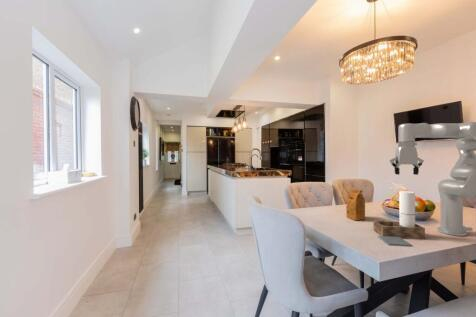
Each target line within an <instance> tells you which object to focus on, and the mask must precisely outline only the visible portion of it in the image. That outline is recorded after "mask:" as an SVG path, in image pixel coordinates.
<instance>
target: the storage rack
mask: <svg viewBox="0 0 476 317" xmlns="http://www.w3.org/2000/svg"><path fill="white" fill-rule="evenodd" d="M372 222H373V223H372V227H373V228H372V229H373V231H374V232H375V233H376V234H378V236H392V237H400V238H402V239H418V240H419V239H421V240H425V239H426V227H423V226H421V225H420V224H418V223H417V224H416V223H415V227H403V226H401V225H399V221H398V220H397V221H393V220H372Z"/></svg>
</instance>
